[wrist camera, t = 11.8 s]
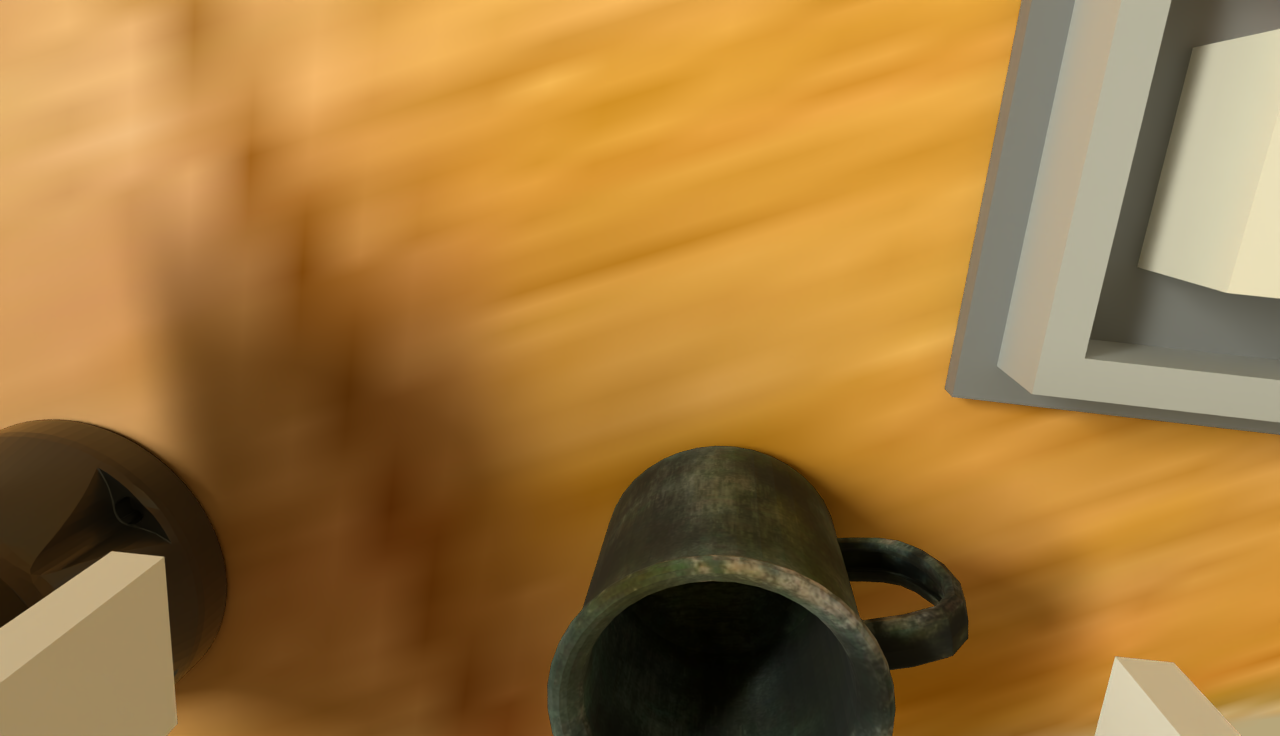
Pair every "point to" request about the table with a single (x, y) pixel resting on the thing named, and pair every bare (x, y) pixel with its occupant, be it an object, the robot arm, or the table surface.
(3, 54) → the table surface
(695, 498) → the mug
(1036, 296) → the grey walled tray
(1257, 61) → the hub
